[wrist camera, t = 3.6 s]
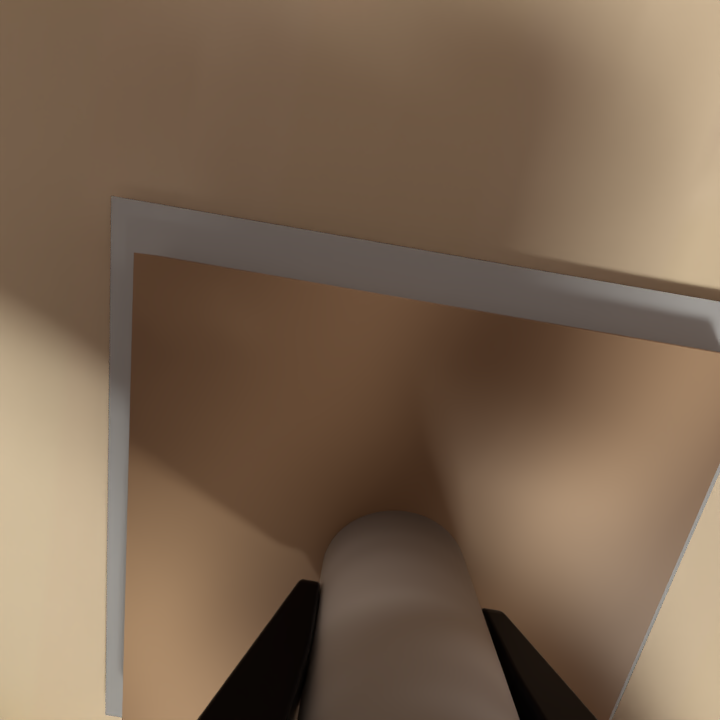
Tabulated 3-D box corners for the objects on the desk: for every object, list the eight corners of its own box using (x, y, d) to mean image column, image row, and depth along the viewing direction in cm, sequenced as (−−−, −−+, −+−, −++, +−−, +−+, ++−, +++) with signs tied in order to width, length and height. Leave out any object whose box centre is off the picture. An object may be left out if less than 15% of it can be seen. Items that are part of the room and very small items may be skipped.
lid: (722, 352, 7) (1481, 503, 2) (558, 758, 10) (753, 1244, 5) (158, 255, 7) (-323, 195, 2) (141, 694, 10) (-99, 1129, 5)
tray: (772, 312, 8) (788, 313, 7) (576, 773, 11) (582, 788, 10) (121, 199, 7) (111, 195, 7) (112, 702, 10) (105, 715, 10)
